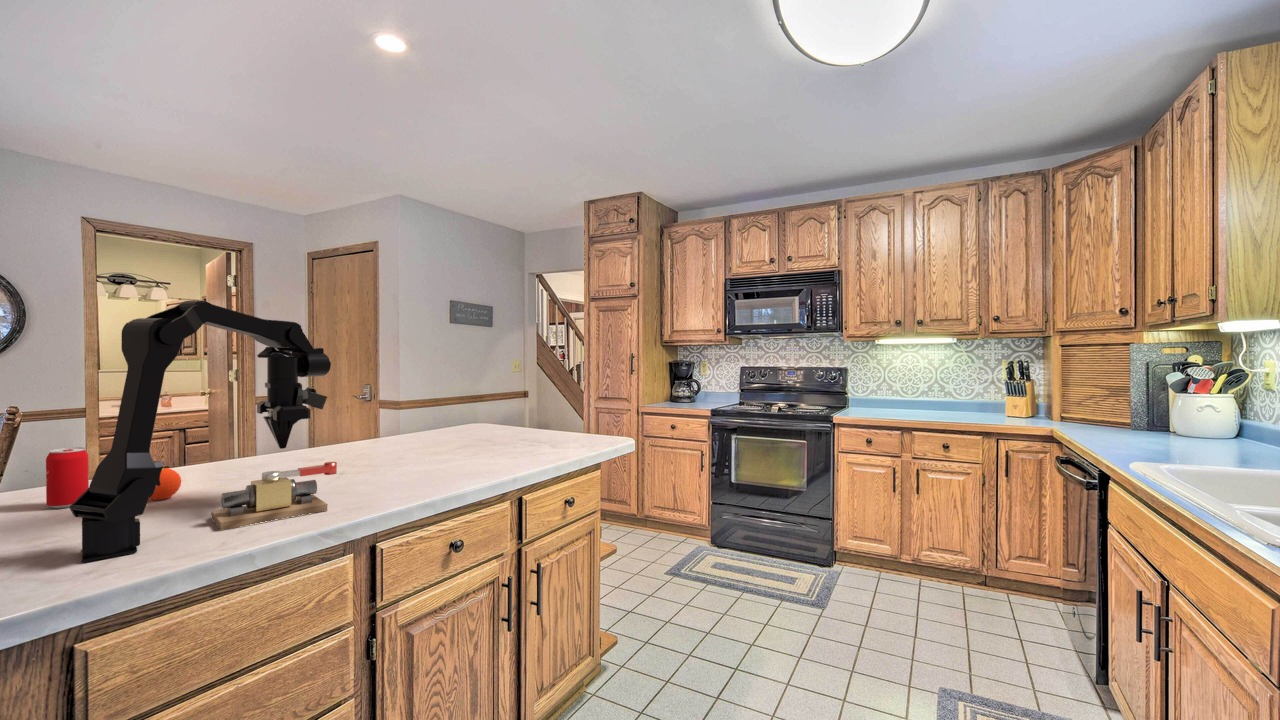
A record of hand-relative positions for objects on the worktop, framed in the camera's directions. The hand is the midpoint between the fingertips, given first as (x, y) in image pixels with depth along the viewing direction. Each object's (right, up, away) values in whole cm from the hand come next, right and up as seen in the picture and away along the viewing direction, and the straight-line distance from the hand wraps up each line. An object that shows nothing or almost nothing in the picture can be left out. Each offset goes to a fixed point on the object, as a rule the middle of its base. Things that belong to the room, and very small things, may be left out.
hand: (282, 448), depth 120 cm
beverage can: (-43, -12, -5) cm, 44 cm away
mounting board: (+4, -12, -9) cm, 16 cm away
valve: (+4, -11, -9) cm, 14 cm away
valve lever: (+7, -5, -5) cm, 11 cm away
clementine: (-28, -12, 0) cm, 30 cm away
